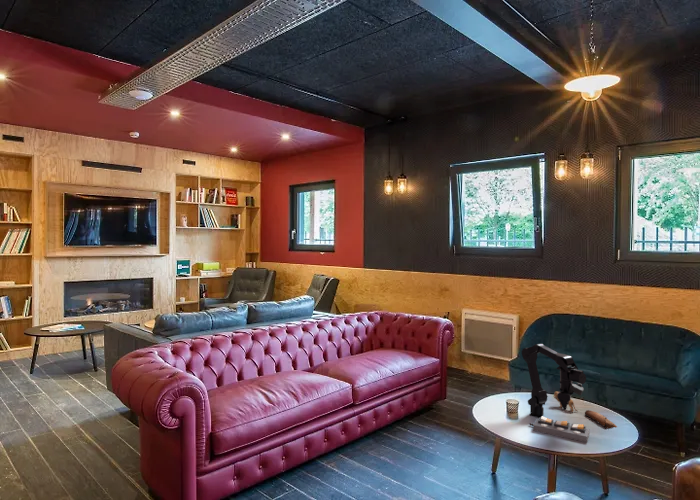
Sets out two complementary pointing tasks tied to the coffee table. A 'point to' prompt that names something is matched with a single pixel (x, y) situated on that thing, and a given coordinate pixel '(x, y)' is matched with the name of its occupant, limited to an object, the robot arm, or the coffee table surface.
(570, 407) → the lion figurine
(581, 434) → the power strip
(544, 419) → the block
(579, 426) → the rocker right
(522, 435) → the coffee table surface
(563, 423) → the rocker middle
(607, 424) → the sunglasses case
